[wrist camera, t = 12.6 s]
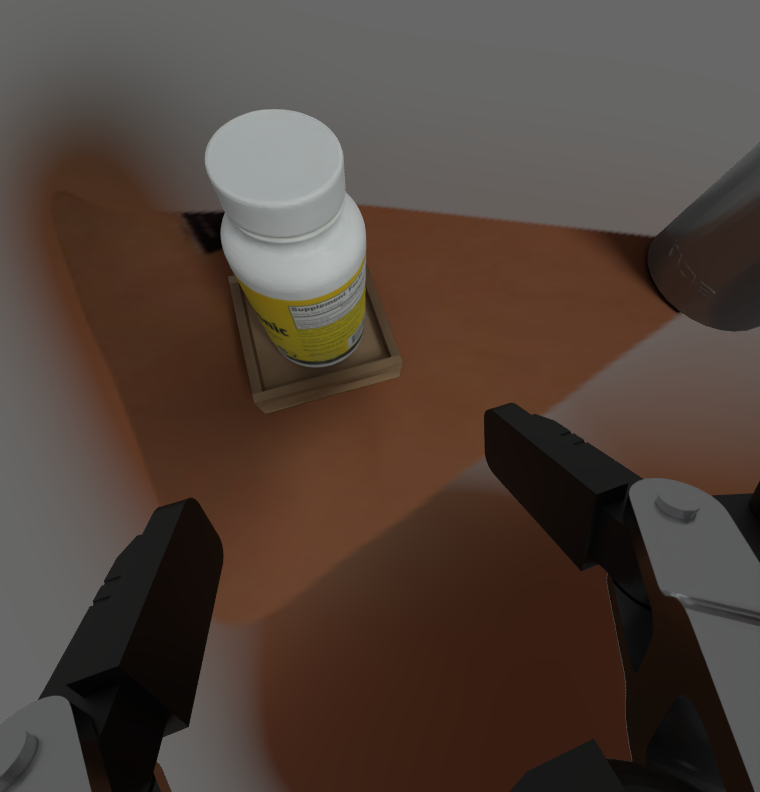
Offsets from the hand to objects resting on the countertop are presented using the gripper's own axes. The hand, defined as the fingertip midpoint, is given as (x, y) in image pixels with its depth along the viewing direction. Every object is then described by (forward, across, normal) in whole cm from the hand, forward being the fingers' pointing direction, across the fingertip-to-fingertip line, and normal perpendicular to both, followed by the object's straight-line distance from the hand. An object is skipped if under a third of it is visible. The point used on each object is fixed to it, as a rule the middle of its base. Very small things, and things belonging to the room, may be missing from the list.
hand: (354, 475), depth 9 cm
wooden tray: (+13, 0, -1) cm, 13 cm away
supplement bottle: (+12, 0, -1) cm, 12 cm away
